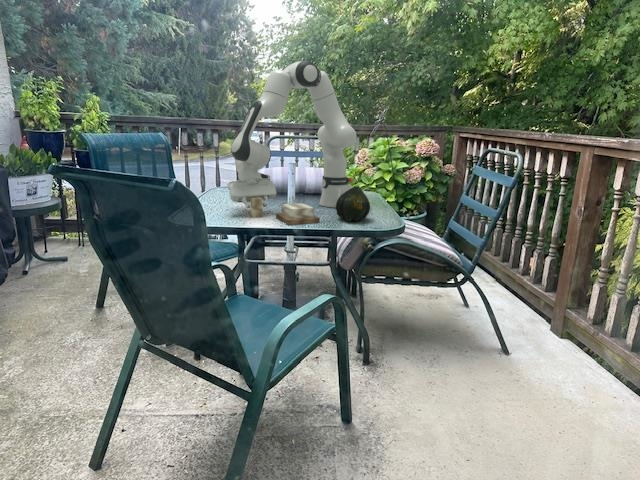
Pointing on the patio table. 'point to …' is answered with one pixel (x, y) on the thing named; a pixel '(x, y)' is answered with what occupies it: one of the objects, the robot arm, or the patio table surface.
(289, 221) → the plinth
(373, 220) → the patio table surface
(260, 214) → the birch block
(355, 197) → the squash
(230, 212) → the patio table surface
